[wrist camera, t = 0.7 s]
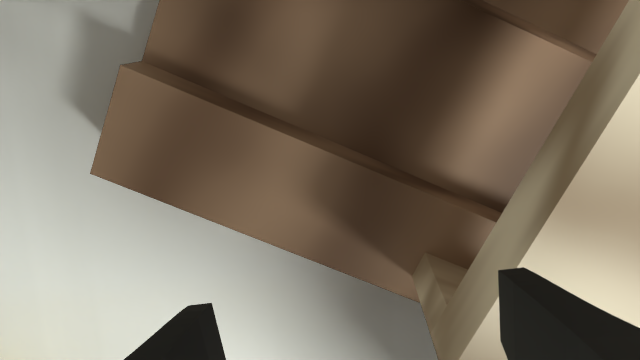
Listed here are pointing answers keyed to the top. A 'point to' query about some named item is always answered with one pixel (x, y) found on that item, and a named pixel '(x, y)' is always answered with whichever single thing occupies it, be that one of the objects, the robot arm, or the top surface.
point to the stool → (559, 213)
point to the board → (349, 119)
